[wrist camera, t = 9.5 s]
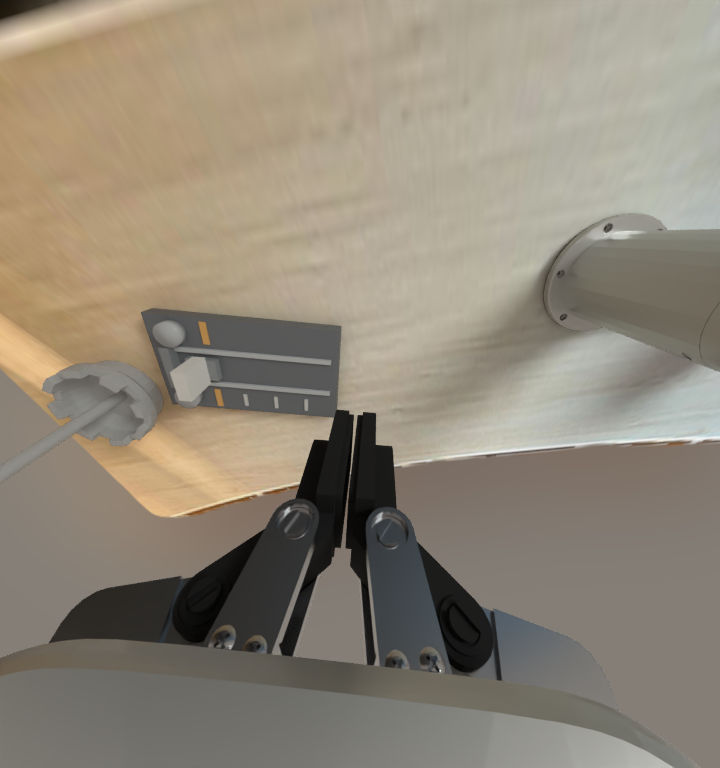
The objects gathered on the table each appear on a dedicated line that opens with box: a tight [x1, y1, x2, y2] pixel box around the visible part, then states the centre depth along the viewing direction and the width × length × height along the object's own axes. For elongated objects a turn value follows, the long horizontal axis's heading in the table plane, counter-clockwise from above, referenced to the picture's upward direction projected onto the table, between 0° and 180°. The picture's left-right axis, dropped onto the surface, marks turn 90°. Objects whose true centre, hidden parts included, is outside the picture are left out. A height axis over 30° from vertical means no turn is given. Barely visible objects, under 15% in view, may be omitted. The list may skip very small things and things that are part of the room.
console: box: [141, 308, 341, 417], centre depth 36 cm, size 25×14×4 cm, turn 85°
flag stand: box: [0, 361, 163, 484], centre depth 27 cm, size 13×13×30 cm
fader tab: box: [170, 356, 223, 402], centre depth 33 cm, size 4×4×6 cm
